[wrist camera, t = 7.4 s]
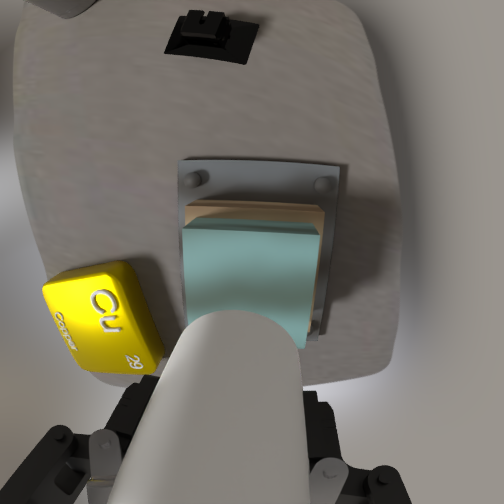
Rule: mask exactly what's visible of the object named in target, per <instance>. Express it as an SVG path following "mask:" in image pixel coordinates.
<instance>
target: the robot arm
mask: <svg viewBox="0 0 504 504" xmlns="http://www.w3.org/2000/svg"><path fill="white" fill-rule="evenodd" d="M23 1H26V2H28V3H31V4H33V5H35V6H38V7H40V8H42V9H44V10H46V11H48V12H51V13H53V14H55V15H57V16H59V17H61V18H64V19H67V18H71V17H74V16H76V15H78V14H80V13H81V12H83V11H84V10H86V9H87V8H88V7H89V6H91V5H92V4H93V3H94V2H95V1H96V0H23ZM159 379H160V377H157V376H152V375H147V374H145V375H144V376H143V378H142V380H141V382H140V383H133V384H132V385H130V386H129V387H128V388H126V390H125V392H124V394H123V395H122V398H121V399H120V401H119V403H118V405H117V406H116V408H115V410H114V411H113V413H112V415H111V417H110V419H109V421H108V422H107V424H106V426H105V428H104V429H100V430H97V431H95V432H94V433H93V434H92V435H84V434H73V432H72V431H71V430H70V429H69V428H68V427H66V426H63V425H57V426H54V427H52V428H51V429H50V430H49V431H48V432H47V433H46V435H45V436H44V437H43V438H42V439H41V441H40V442H39V443H38V444H37V445H36V446H35V448H34V449H33V450H32V451H31V453H30V454H29V455H28V456H27V457H26V459H25V460H24V461H23V462H22V464H21V465H20V466H19V467H18V469H17V470H16V471H15V472H14V474H13V475H12V476H11V477H10V479H9V480H8V481H7V483H6V484H5V485H4V487H3V488H2V489H1V490H0V504H73V503H74V502H75V500H76V499H77V497H78V496H79V494H80V493H81V491H82V490H83V488H84V487H85V485H86V484H87V495H88V502H89V504H107V501H108V499H109V496H110V493H111V490H112V488H113V485H114V482H115V478H116V476H117V473H118V471H119V469H120V466H121V464H122V462H123V459H124V457H125V455H126V452H127V450H128V448H129V445H130V443H131V441H132V438H133V436H134V434H135V432H136V429H137V427H138V425H139V423H140V420H141V418H142V416H143V414H144V411H145V409H146V407H147V405H148V403H149V400H150V398H151V396H152V394H153V392H154V390H155V388H156V385H157V383H158V381H159ZM303 403H304V414H305V425H306V437H307V451H308V459H309V465H310V475H309V493H310V504H412V503H411V500H410V498H409V496H408V493H407V491H406V488H405V486H404V484H403V482H402V479H401V477H400V474H399V472H398V471H397V470H396V469H395V468H393V467H391V466H387V465H382V466H378V467H376V468H374V469H373V470H364V469H357V468H353V467H351V466H349V465H348V464H346V463H345V462H344V461H343V459H342V457H341V451H340V445H339V440H338V434H337V429H336V423H335V417H334V412H333V409H332V408H331V406H330V405H329V404H328V402H318V398H317V392H316V391H303ZM90 477H91V479H90ZM89 479H90V480H89Z"/></svg>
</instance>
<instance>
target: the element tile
mask: <svg viewBox="0 0 504 504" xmlns="http://www.w3.org/2000/svg"><path fill="white" fill-rule="evenodd" d="M42 291H43V296H44V299H45V301H46V303H47V306H48V308H49V310H50V312H51V315H52V317H53V319H54V321H55V323H56V325H57V327H58V329H59V331H60V333H61V335H62V337H63V339H64V341H65V343H66V345H67V346H68V348H69V350H70V352H71V354H72V356H73V357H74V359H75V361H76V362H77V364H78V365H79V366H80V367H81V368H82V369H84V370H87V371H90V372H101V373H116V374H137V375H145V374H147V375H149V374H152V373H154V372H155V371H156V369H157V367H158V365H159V363H160V361H161V359H162V357H163V355H164V353H165V349H164V345H163V343H162V341H161V338H160V336H159V334H158V331H157V329H156V326H155V324H154V321H153V319H152V316H151V314H150V311H149V309H148V306H147V303H146V301H145V298H144V295H143V293H142V290H141V287H140V284H139V281H138V279H137V276H136V273H135V271H134V270H133V268H132V267H131V266H130V265H129V264H128V263H126V262H124V261H113V262H108V263H103V264H98V265H93V266H89V267H84V268H79V269H74V270H69V271H65V272H61V273H59V274H58V275H56V276H55V277H53V278H52V279H50V280H49V281H47V282H46V283H45V284H44V285H43V288H42Z"/></svg>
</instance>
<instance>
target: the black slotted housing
mask: <svg viewBox="0 0 504 504" xmlns="http://www.w3.org/2000/svg"><path fill="white" fill-rule="evenodd" d="M204 13H205V12H204V11H202V10H189V12H188V14H187V16H180V17H179V18H178V20H177V23H176V25H175V27H174V29H173V32H172V34H171V37H170V39H169V41H168V44H167V46H166V49H165V52H164V54H172V55H183V56H193V57H201V58H208V59H215V60H221V61H227V62H233V63H238V64H243V65H246V64H247V61H248V58H249V55H250V52H251V49H252V46H253V43H254V40H255V37H256V34H257V31H258V28H259V24H255V23H249V22H243V21H236V20H229V17H226V16H225V14H224V12H214V11H209V13H208V15H207V16H203V15H204Z"/></svg>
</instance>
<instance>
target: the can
mask: <svg viewBox="0 0 504 504" xmlns="http://www.w3.org/2000/svg"><path fill="white" fill-rule="evenodd" d="M309 475H310V465H309V459H308V451H307V437H306V425H305V414H304V403H303V386H302V377H301V368H300V361H299V354H298V350H297V347H296V344H295V342H294V340H293V339H292V337H291V336H290V335H289V333H288V332H287V331H286V330H285V329H284V328H283V327H281V326H280V325H279V324H277V323H276V322H274V321H273V320H271V319H269V318H267V317H265V316H262V315H259V314H256V313H253V312H248V311H242V310H222V311H216V312H212V313H209V314H206V315H203V316H201V317H199V318H198V319H196V320H195V321H193V322H192V323H191V324H190V325H189V326H187V327H186V329H185V330H184V331H183V333H182V334H181V336H180V338H179V340H178V342H177V344H176V346H175V348H174V350H173V352H172V354H171V356H170V358H169V360H168V362H167V364H166V366H165V368H164V371H163V373H162V375H161V377H160V379H159V381H158V383H157V385H156V388H155V390H154V392H153V394H152V396H151V398H150V400H149V403H148V405H147V407H146V409H145V411H144V414H143V416H142V418H141V420H140V423H139V425H138V427H137V429H136V432H135V434H134V436H133V438H132V441H131V443H130V445H129V448H128V450H127V452H126V455H125V457H124V459H123V462H122V464H121V466H120V469H119V471H118V473H117V476H116V478H115V482H114V485H113V488H112V490H111V493H110V496H109V499H108V501H107V504H310V493H309Z"/></svg>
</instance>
